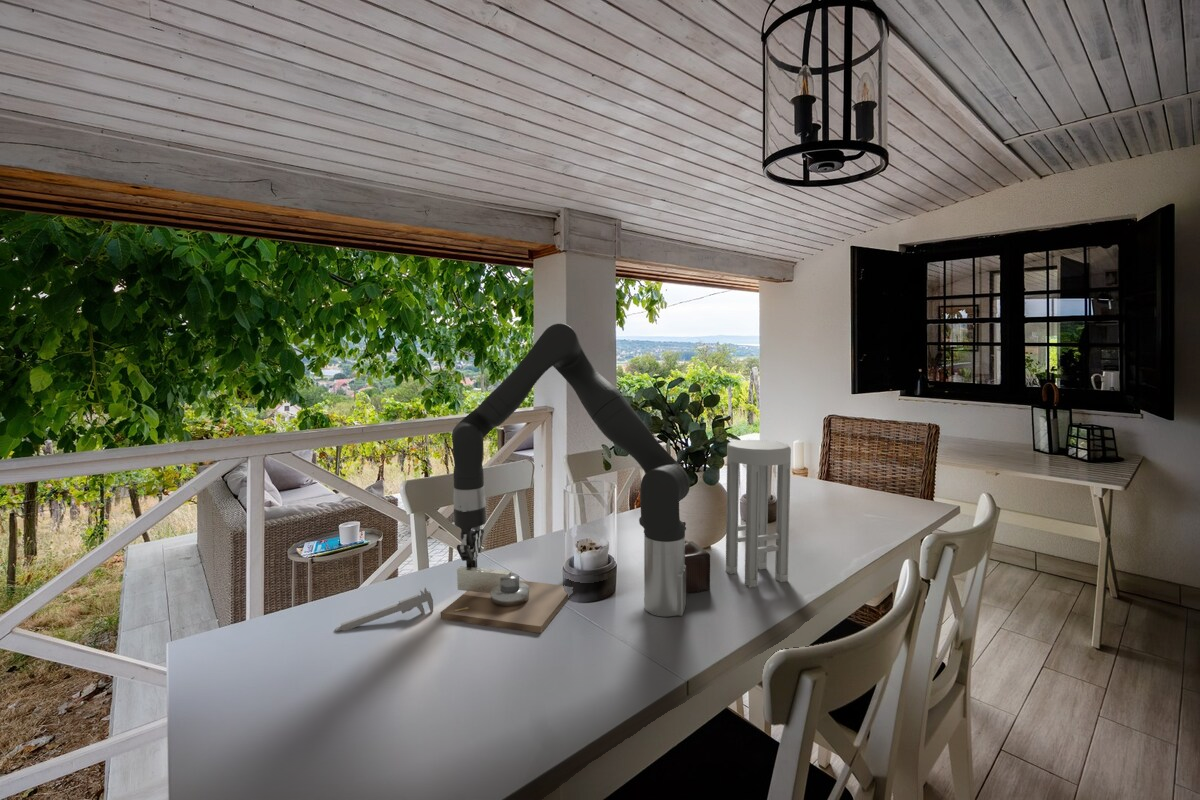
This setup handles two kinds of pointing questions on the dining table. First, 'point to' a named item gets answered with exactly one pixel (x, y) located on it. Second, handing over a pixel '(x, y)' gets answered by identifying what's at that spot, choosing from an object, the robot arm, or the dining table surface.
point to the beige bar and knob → (494, 585)
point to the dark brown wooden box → (695, 567)
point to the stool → (758, 507)
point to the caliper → (392, 610)
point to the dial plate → (510, 609)
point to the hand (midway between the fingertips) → (472, 574)
